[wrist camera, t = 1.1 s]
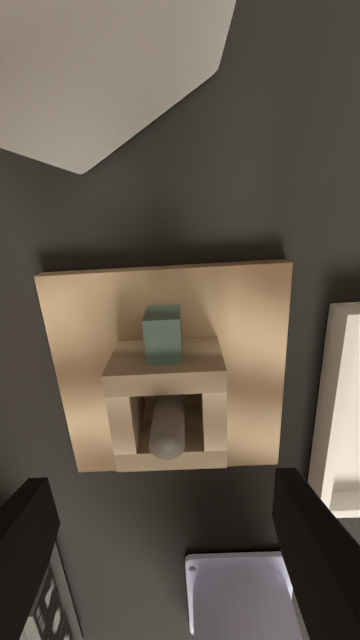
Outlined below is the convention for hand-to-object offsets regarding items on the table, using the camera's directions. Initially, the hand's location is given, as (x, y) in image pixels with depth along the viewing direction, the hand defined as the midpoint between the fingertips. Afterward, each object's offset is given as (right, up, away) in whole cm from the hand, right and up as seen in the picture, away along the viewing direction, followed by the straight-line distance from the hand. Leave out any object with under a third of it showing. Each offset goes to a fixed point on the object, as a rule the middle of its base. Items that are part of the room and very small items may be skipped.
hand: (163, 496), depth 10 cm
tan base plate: (0, +3, +7) cm, 8 cm away
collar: (0, +2, +6) cm, 7 cm away
